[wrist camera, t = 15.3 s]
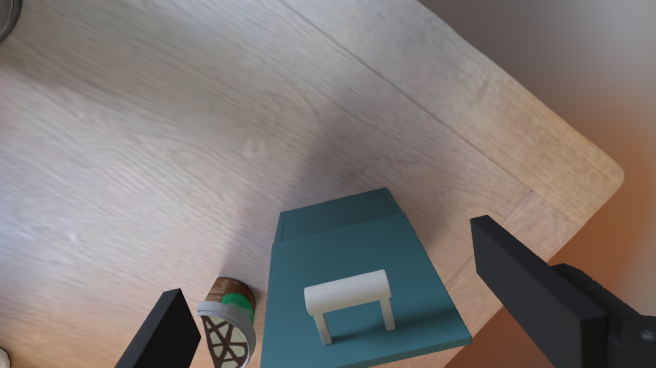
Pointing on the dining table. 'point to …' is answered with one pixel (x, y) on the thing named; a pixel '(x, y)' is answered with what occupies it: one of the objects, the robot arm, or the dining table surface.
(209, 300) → the food container
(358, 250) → the lid
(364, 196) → the chest
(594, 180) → the dining table surface
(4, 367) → the cherub figurine
